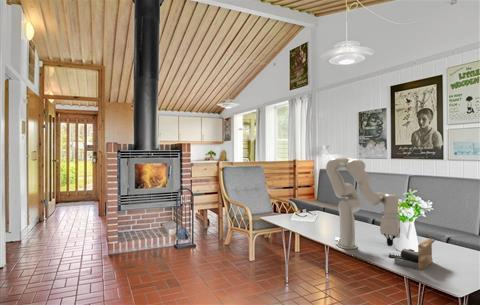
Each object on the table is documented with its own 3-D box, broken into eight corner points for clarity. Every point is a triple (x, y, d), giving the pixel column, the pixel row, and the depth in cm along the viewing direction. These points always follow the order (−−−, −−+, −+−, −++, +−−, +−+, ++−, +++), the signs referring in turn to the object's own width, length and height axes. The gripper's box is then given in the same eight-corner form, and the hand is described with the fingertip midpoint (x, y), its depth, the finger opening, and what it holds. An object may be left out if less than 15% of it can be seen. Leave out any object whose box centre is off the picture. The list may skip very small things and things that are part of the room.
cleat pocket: (394, 263, 170) (394, 258, 170) (406, 256, 183) (406, 251, 183) (418, 269, 161) (418, 263, 161) (428, 260, 174) (428, 255, 174)
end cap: (400, 261, 175) (400, 249, 175) (408, 259, 178) (408, 247, 178) (417, 266, 166) (417, 254, 166) (425, 264, 169) (425, 252, 169)
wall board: (418, 269, 161) (418, 245, 162) (428, 261, 174) (428, 238, 174) (425, 271, 159) (424, 246, 159) (435, 262, 171) (434, 239, 171)
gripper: (375, 213, 183) (374, 243, 184) (401, 218, 172) (400, 250, 173) (380, 212, 188) (379, 241, 189) (406, 216, 177) (405, 247, 178)
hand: (389, 245), depth 181 cm, fingers closed
